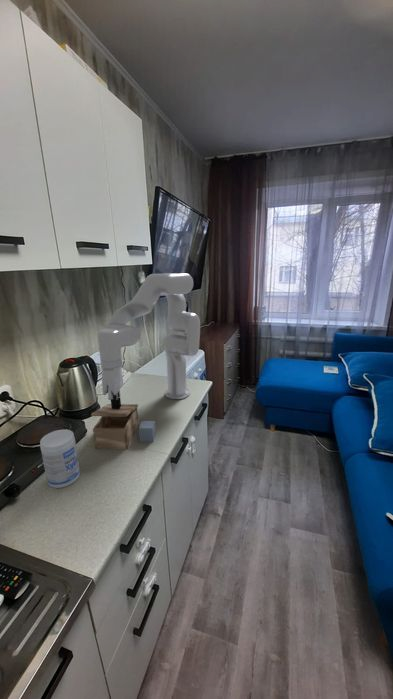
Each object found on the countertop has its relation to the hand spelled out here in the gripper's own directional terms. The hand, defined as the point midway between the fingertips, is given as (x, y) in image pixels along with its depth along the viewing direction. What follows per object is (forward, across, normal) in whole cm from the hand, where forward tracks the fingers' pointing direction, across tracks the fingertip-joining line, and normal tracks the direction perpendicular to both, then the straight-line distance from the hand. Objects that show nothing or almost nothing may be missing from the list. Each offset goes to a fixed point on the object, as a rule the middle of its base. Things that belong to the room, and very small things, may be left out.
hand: (116, 407), depth 109 cm
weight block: (+12, +2, +12) cm, 17 cm away
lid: (+1, +1, 0) cm, 1 cm away
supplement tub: (+12, +24, -10) cm, 29 cm away
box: (+12, +1, 0) cm, 12 cm away
